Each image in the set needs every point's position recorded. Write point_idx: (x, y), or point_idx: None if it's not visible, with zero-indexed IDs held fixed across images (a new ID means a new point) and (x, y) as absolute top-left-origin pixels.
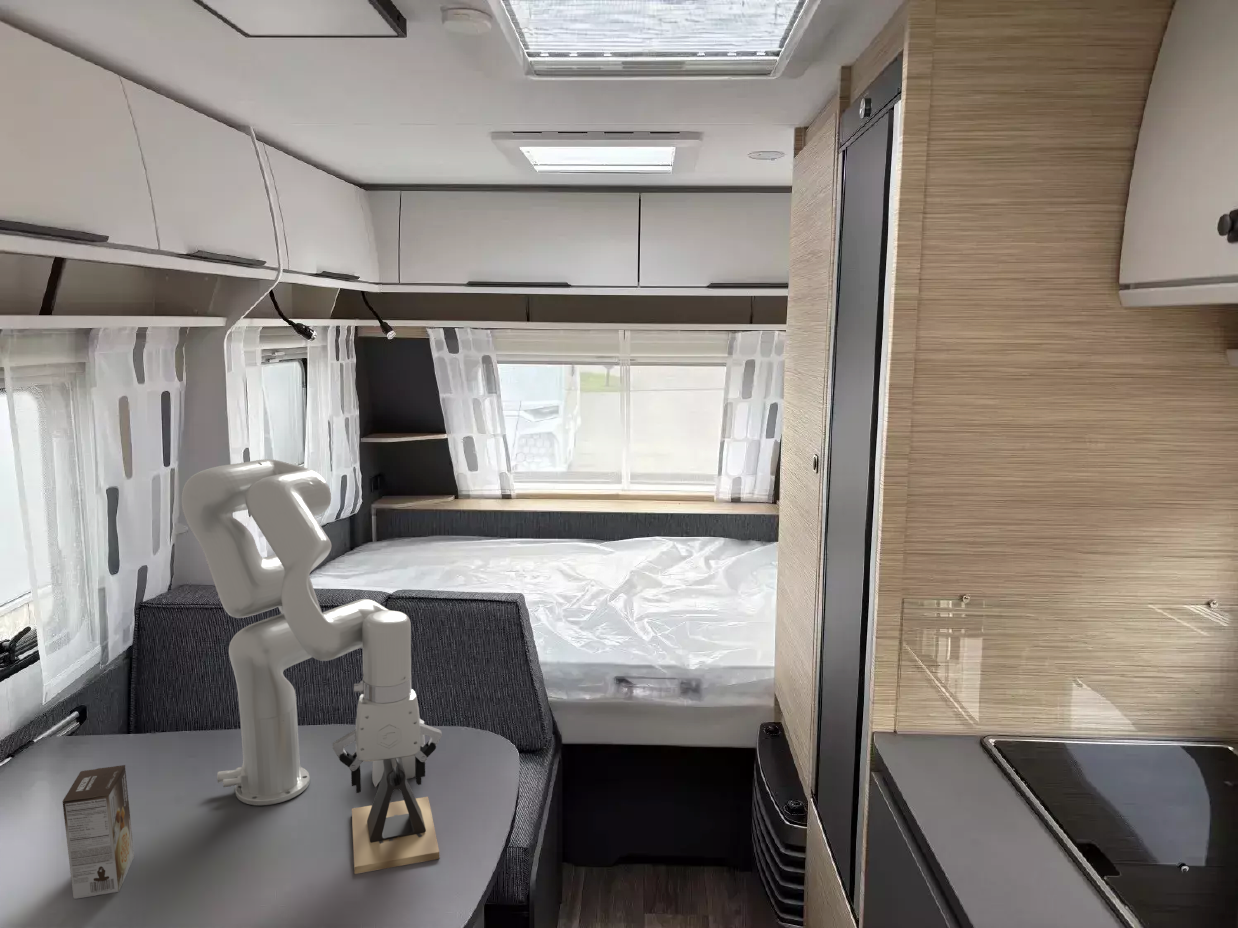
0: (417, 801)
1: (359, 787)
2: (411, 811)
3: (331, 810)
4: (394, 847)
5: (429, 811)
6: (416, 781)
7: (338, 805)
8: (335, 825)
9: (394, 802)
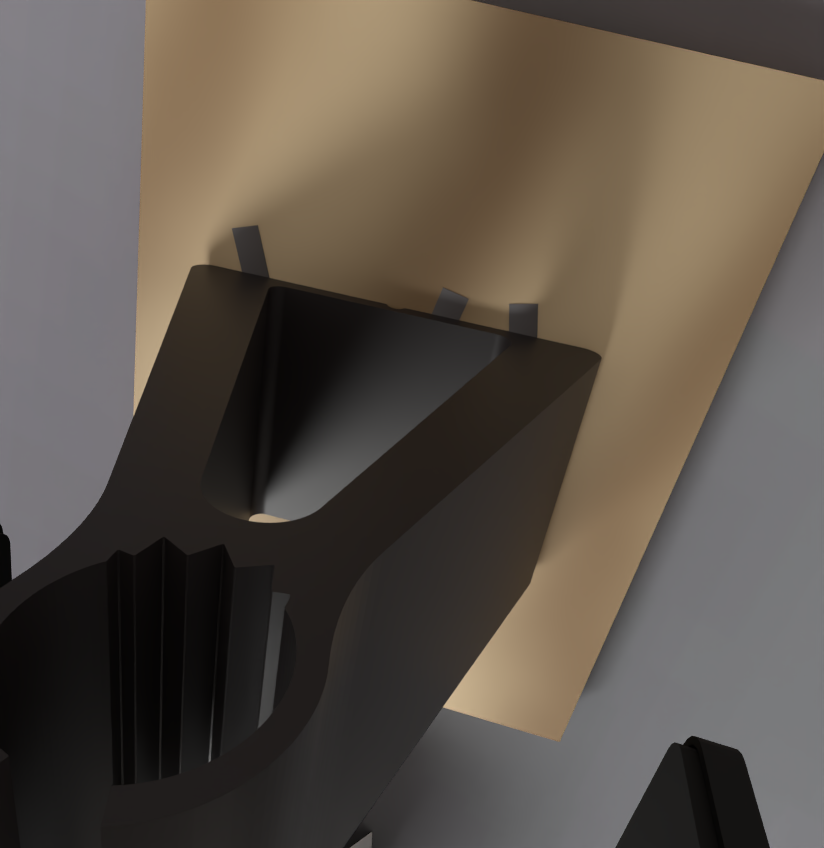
0: None
1: (713, 798)
2: (216, 342)
3: (641, 794)
4: (458, 192)
5: None
6: (2, 577)
7: (590, 809)
8: (680, 675)
9: None
